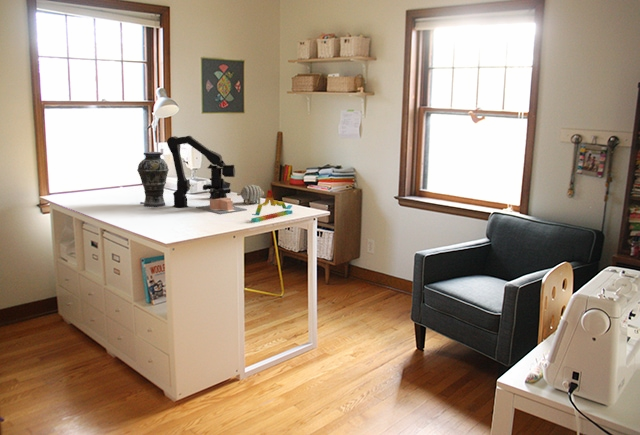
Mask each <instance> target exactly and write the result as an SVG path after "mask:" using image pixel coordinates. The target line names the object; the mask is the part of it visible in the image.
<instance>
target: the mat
mask: <svg viewBox="0 0 640 435" xmlns="http://www.w3.org/2000/svg"><path fill="white" fill-rule="evenodd" d="M196 209H200V210H203V211H207V212H211V213H215V214H218V215H223V214H225V215H226V214H231V213H237V212H243V211H244V212H245V211H248V209H247V208H243V207H239V206H234V205H233V210H228V211H227V210H223V209H215V210H213V209H210V204H208V205H202V206H201V205H200V206H196Z"/></svg>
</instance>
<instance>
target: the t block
mask: <svg viewBox="0 0 640 435" xmlns="http://www.w3.org/2000/svg"><path fill="white" fill-rule="evenodd" d="M209 205H210V209H213V210H215V209H223V210H227V211H228V210H233V206H234V204H233V200H232V198H231V197H227V198H220V199H209Z"/></svg>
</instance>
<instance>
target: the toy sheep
mask: <svg viewBox="0 0 640 435" xmlns="http://www.w3.org/2000/svg"><path fill="white" fill-rule="evenodd" d="M236 195H237V196H241V198H242V199H243V204H246V205H249V203H257V204H261V198H263V197H264V195H265V192H264V190H263V189H261V186H259V185H255V184H249V185H246V186H243V187H242V189H241V191H240V192H237V194H236Z"/></svg>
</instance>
